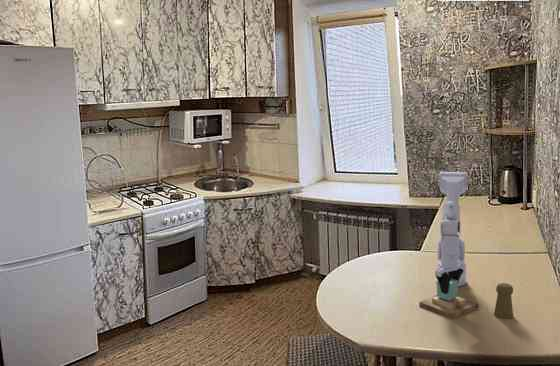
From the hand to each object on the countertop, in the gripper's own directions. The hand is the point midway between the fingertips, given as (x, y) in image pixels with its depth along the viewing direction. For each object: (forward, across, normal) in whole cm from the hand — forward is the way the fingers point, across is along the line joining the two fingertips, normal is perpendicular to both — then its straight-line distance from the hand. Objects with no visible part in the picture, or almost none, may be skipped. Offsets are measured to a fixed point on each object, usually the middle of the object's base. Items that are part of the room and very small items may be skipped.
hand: (448, 290), depth 188 cm
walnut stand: (+6, 0, 0) cm, 6 cm away
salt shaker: (+6, -6, +17) cm, 19 cm away
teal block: (+2, 0, -1) cm, 2 cm away
